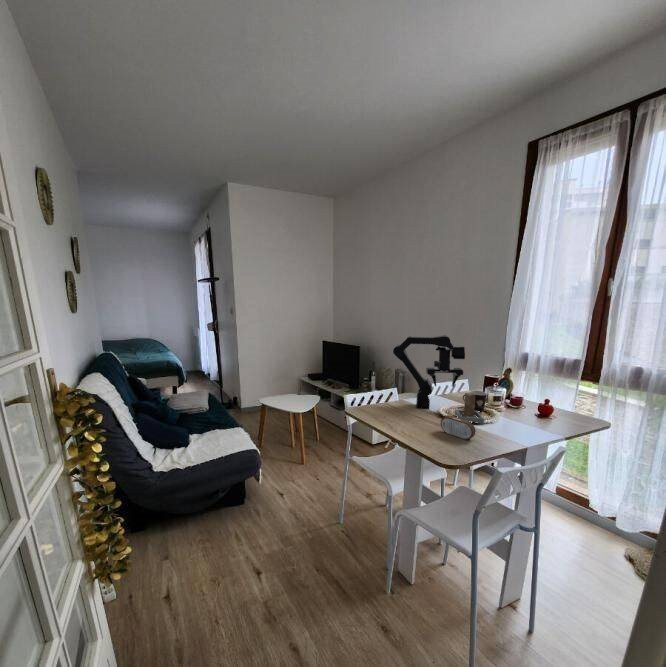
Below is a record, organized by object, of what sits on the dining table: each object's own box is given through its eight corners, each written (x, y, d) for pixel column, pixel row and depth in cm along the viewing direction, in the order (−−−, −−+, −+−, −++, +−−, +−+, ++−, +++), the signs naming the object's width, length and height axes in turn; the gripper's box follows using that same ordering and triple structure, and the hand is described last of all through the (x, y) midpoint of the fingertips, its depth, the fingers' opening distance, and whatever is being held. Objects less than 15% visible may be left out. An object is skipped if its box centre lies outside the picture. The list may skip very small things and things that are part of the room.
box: (460, 423, 158) (460, 417, 157) (455, 415, 168) (455, 409, 168) (483, 424, 156) (484, 418, 156) (476, 416, 167) (477, 410, 167)
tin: (475, 440, 138) (476, 422, 137) (472, 443, 136) (473, 424, 135) (442, 430, 149) (443, 412, 148) (439, 432, 147) (440, 414, 146)
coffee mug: (486, 409, 177) (487, 392, 176) (484, 414, 170) (485, 396, 169) (464, 405, 183) (465, 388, 182) (461, 410, 176) (462, 392, 175)
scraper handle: (466, 420, 159) (468, 395, 158) (461, 416, 164) (463, 392, 163) (476, 420, 160) (477, 394, 159) (470, 416, 165) (472, 392, 164)
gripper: (458, 356, 180) (458, 383, 182) (424, 355, 183) (424, 382, 185) (463, 359, 169) (463, 388, 171) (427, 359, 172) (427, 387, 174)
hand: (444, 386), depth 175 cm, fingers open, 9 cm apart
